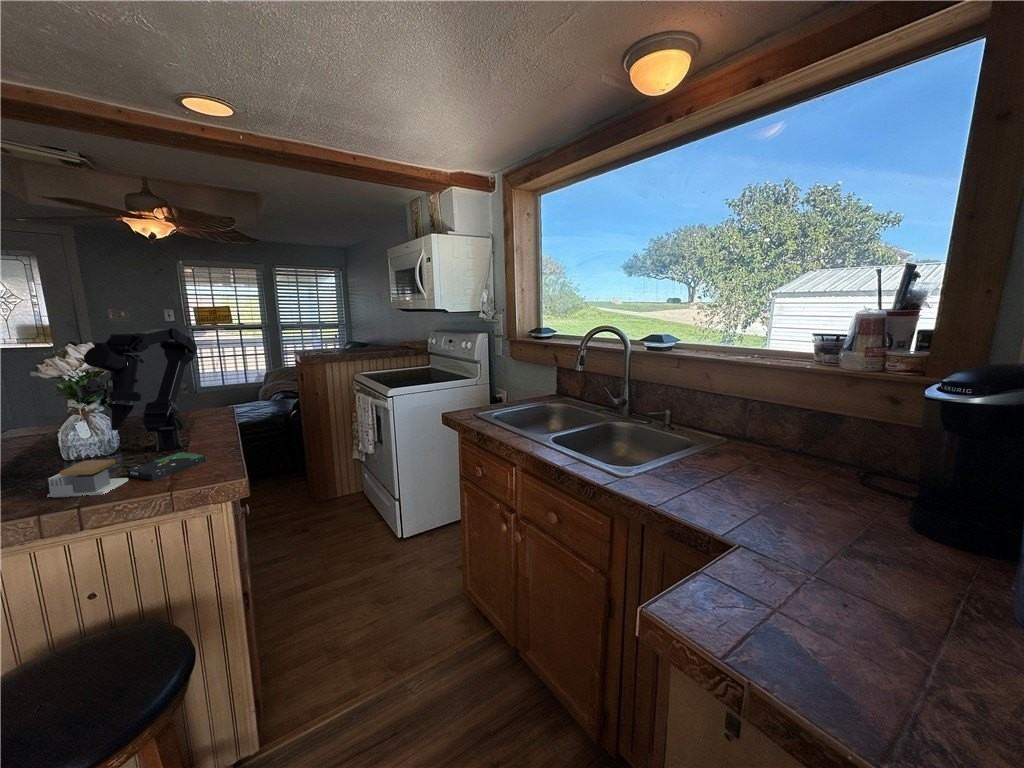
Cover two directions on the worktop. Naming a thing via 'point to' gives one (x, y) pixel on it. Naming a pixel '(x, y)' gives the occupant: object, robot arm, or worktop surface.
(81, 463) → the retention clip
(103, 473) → the heat sink board
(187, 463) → the disk drive
